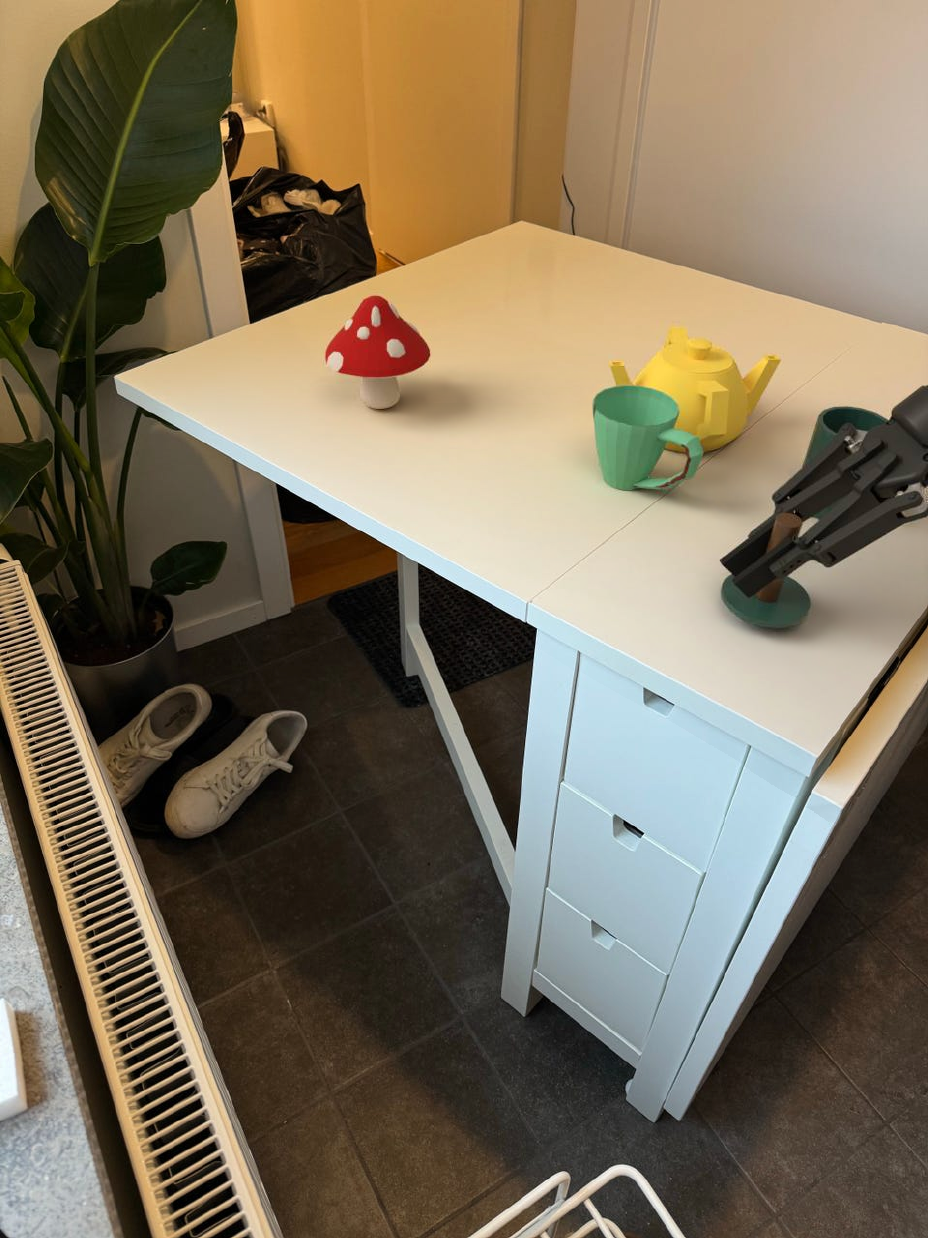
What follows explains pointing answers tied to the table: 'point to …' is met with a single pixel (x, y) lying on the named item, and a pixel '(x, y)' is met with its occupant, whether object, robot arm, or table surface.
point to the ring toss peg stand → (772, 588)
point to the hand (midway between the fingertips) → (734, 578)
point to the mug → (639, 437)
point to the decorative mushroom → (377, 351)
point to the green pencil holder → (829, 427)
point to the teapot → (702, 387)
